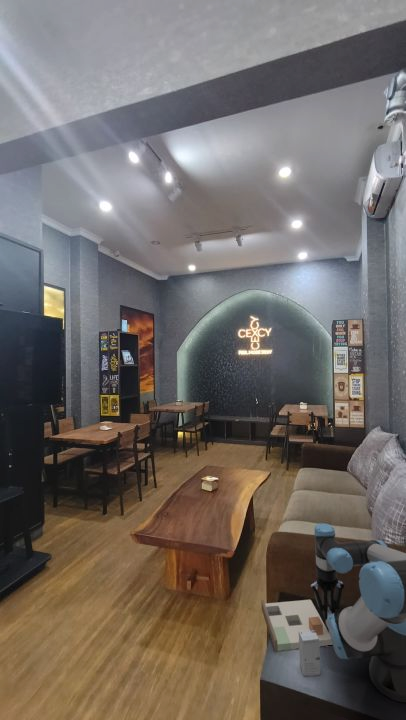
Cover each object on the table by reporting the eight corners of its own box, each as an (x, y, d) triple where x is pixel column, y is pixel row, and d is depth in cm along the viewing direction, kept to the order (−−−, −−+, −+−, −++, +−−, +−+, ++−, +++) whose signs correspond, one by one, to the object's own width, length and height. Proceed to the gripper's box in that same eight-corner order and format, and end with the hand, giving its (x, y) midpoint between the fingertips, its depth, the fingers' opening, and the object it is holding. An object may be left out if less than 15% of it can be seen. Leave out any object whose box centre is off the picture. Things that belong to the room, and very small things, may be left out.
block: (323, 634, 132) (322, 624, 132) (312, 635, 132) (312, 625, 132) (319, 626, 136) (318, 616, 136) (309, 627, 136) (308, 617, 136)
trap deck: (332, 645, 130) (332, 635, 130) (275, 651, 128) (274, 640, 128) (310, 605, 152) (310, 596, 152) (261, 609, 150) (261, 600, 150)
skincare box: (304, 677, 117) (302, 641, 118) (299, 665, 122) (297, 631, 122) (321, 674, 118) (319, 639, 118) (316, 663, 122) (314, 629, 123)
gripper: (338, 559, 138) (341, 618, 138) (306, 561, 138) (309, 620, 138) (346, 570, 131) (350, 632, 131) (313, 572, 130) (316, 635, 130)
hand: (329, 626), depth 134 cm, fingers closed
